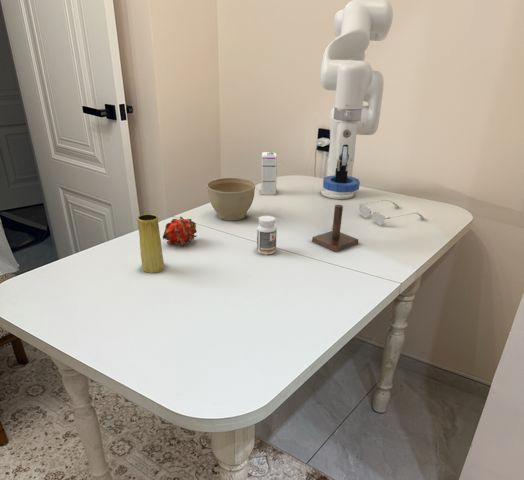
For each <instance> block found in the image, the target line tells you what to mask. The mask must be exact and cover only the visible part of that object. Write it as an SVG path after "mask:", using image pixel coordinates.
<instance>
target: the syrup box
mask: <svg viewBox="0 0 524 480" xmlns="http://www.w3.org/2000/svg"><path fill="white" fill-rule="evenodd" d="M277 157H278V153H277V152H276V151H275V152H274V151H263V152H261V171H260V172H261V173H260V174H261V183H260V184H261V186H260V187H261V190H260V191H261V193H260V194H261V195H267V196H269V195H270V196H273V195H274V196H276V195H277V175H278V173H277V172H278V170H277V169H278V167H277V166H278V165H277V164H278V160H277V159H278V158H277Z"/></svg>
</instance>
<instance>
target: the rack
mask: <svg viewBox="0 0 524 480" xmlns="http://www.w3.org/2000/svg"><path fill="white" fill-rule="evenodd" d="M343 211H344V205H342V204H335V205H334V211H333V221H332V229H331V231H327V232H324V233H321V234H318V235H314V236H312V238H311V242H312V243H314V244H317V245H319V246H320V247H323V248H326V249H328V250H331V251H333V252H335V253H336V252H339V251H343V250H345V249H347V248H351V247H354V246H356V245H359V238H356V237H353V236H351V235H349V234H346V233H343V232H341V229H342V219H343Z"/></svg>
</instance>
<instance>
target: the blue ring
mask: <svg viewBox="0 0 524 480" xmlns="http://www.w3.org/2000/svg"><path fill="white" fill-rule="evenodd" d="M335 180H336V175H334V176H328V177H327V176H326V177H323V181H322V187H323V188H322V189H324V188H325V189H327V190H329V191H334V192H354V193H355V192H356V191H359V190H360V184H361V181H360V179H359V178H356V177H354V176H352V177H350V176H347V182H346V183H336V182H335Z"/></svg>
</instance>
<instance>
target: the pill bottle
mask: <svg viewBox="0 0 524 480" xmlns="http://www.w3.org/2000/svg"><path fill="white" fill-rule="evenodd" d="M258 224H259V225H257V227H256V251H257V252H258V253H259V254H261V255H273V254H275V253H276V251H277V226H276V225H275V224H276V218H275V217H274V216H271V215H262V216H260V217H258Z"/></svg>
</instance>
